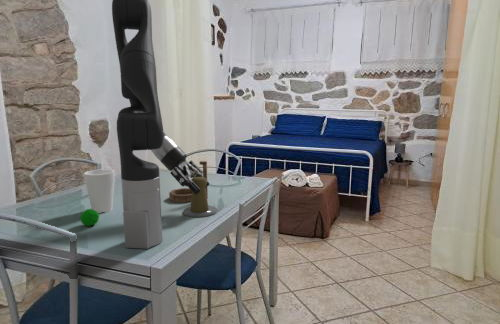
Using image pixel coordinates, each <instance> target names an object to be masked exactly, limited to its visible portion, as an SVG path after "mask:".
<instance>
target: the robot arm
mask: <svg viewBox="0 0 500 324" xmlns="http://www.w3.org/2000/svg"><path fill="white" fill-rule="evenodd" d="M111 15H112V16H111V17H112V24H113V32H114V39H115V44H116V51H117V57H118V63H119V71H120V86H121V95H122V98H124V99H127V100H129V104H130V106H127V107H123V108H122V109H121V110H119V112H118V114H117V119H116V133H117V135H116V136H117V142H118V143H117V144H118V150H119V160H120V178H121V192H122V194H121V195H122V206H123V207H122V208H123V211H122V216H123V218H122V219H123V220H122V221H123V232H124V233H123V234H124V248H126V249H129V248H130V249H144V250H145V249H146V250H147V249H150V248H151V247H155V246H156V245H159V244H160V243H162V242H163V225H162V224H163V223H162V222H163V221H162V205H161V204H162V202H161V180H160V177H161V176H160V167H159V165H158V164H157V163H154V162H151V161H147V160H144V159H141V158H139V157H138V156H136V155H135V154H134V153H133V152H135V151H151V152H152V153H153V154H154V156H155V158H157V159H158V160H159V162H160V163H161V164H162V165H163V166H164V167H165V168H166V169H167V170H168V171H169V172H170V174H171V176H172V178H174V179H175V180H176V181H177V182H178V183H179V185H180V186H181V187H183V188H186V187H187V188H190V189H191V190H192V192H193V193H194V194H198V193H199V192H200V191H201V189H200V188H199V187H198V186H197V185H196V184H195V183H194V182H192V178H194V177H203V169H201V168H200V167H199V166H198V165H197V164H196V163H195V162H194V161H193V160H190V161H187V160H186V159H187V157H188V155H187V154H186V153H185V152H184V151H183V149H182V148H181V147H179V145H178V144H177V143H176V142H175V141H174V140H173V139H172V138H170V137H169V136H168V135H167V134H166V133H165V131H164V128H163V127H164V125H163V119H162V113H161V108H160V102H159V95H158V87H157V86H158V85H157V84H158V82H157V66H156V60H155V52H154V45H153V30H152V29H153V27H152V25H153V23H152V21H153V20H152V9H151V4H150V2H149V0H111ZM126 30H132V31H133V30H134V31H138V32H137V33H136V34H135V36H133V38H131V40H129V42H128V40H127V36H126ZM209 185H210V182H209V181H208V180H207V185H206V187H207V188H208V187H209ZM206 187H205V188H206Z"/></svg>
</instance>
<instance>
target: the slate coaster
mask: <svg viewBox="0 0 500 324" xmlns="http://www.w3.org/2000/svg"><path fill="white" fill-rule="evenodd" d="M190 208H191V206H187V207H185V208H184V209H183V214H184V216H186V217H190V218H205V217H210V216H211V217H212V216H214V215H216V214H217V213H218V208H217V207H216V206H213V205H210V204H208V208H209V211H207V212H204V213H193V212H191V211H190ZM215 213H216V214H215Z"/></svg>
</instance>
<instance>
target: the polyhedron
mask: <svg viewBox="0 0 500 324" xmlns="http://www.w3.org/2000/svg"><path fill="white" fill-rule="evenodd" d="M79 218H80V222H81V224H82V225H84V226H86V227H92V226H91V225H93V226H94V225H95V224H97V223H98V222H99V219H100V213H98V212H96V211H94V210H92V208H89V209H86V210H84V211H83V212H82V213H80V217H79Z"/></svg>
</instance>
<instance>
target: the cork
mask: <svg viewBox="0 0 500 324" xmlns="http://www.w3.org/2000/svg"><path fill="white" fill-rule="evenodd" d="M191 179H192V182H194V183H195V184H196V185H197V186H198V187H199V188H200V189H201V191H200V192H199V193H198V194H194V193H193V192H192V198H191V202H190V207H191V208H190V211H191V212H193V213H204V212H207V211H209V208H208V205H209V201H208V199H207V195H206V189H205V187H206V185H207V181H208V179H207V180H206V178H204V177H194V178H191Z"/></svg>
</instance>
